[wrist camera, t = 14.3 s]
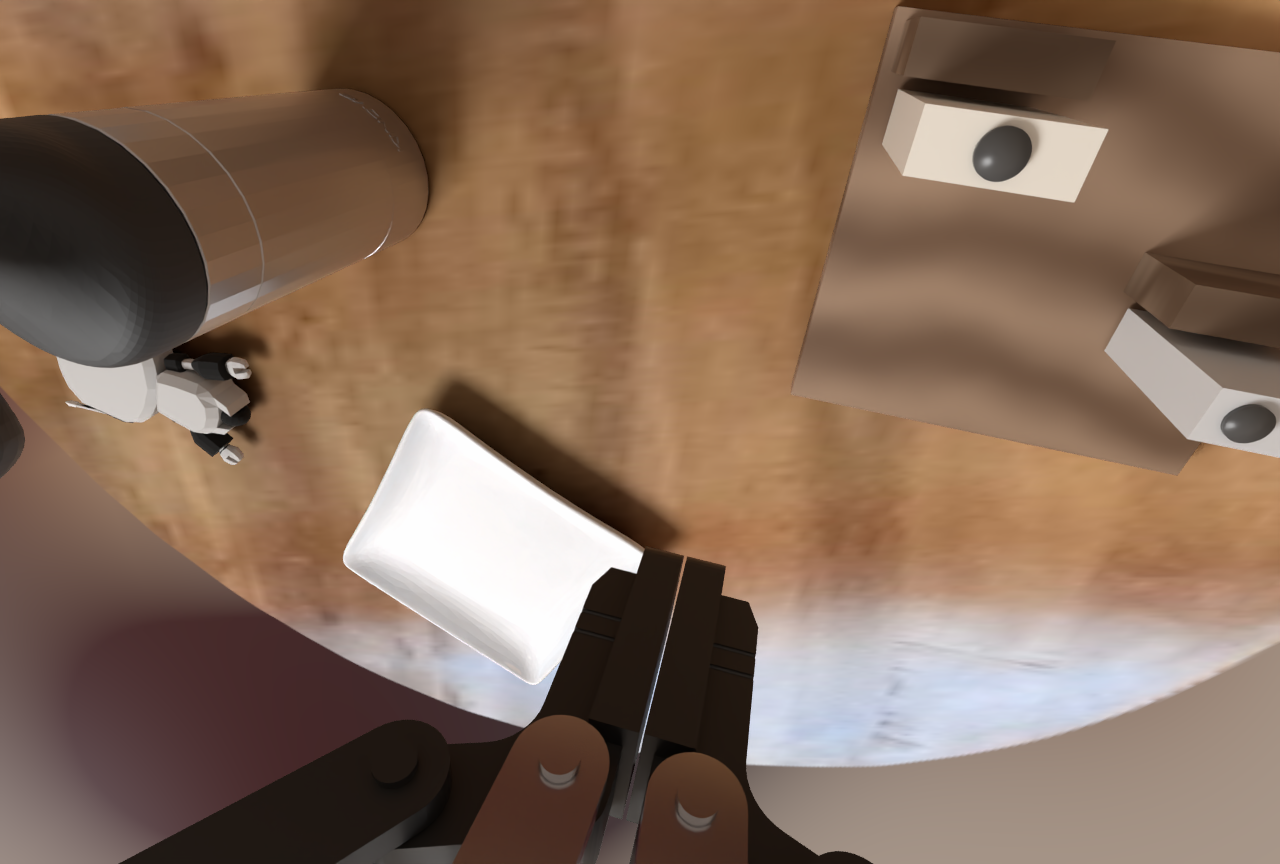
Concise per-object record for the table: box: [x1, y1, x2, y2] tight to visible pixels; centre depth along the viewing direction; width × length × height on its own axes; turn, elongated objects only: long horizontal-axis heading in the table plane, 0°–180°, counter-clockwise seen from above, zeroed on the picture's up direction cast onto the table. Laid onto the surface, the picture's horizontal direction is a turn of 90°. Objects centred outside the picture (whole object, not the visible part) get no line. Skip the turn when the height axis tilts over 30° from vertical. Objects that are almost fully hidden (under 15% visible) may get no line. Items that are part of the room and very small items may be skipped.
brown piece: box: [791, 6, 1280, 475], centre depth 31 cm, size 20×22×6 cm
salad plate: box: [343, 409, 645, 685], centre depth 53 cm, size 21×21×3 cm
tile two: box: [1104, 308, 1280, 458], centre depth 28 cm, size 2×6×9 cm, turn 83°
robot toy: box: [57, 349, 252, 465], centre depth 51 cm, size 12×4×15 cm
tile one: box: [882, 89, 1109, 203], centre depth 26 cm, size 2×6×9 cm, turn 83°
